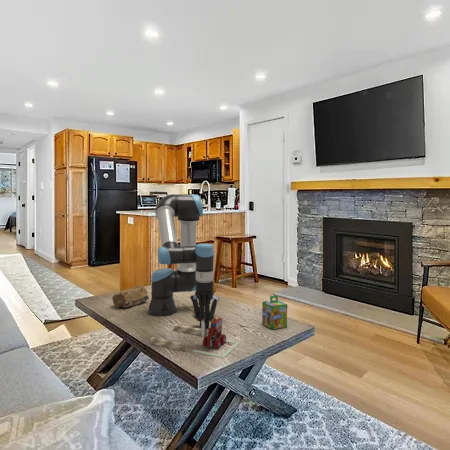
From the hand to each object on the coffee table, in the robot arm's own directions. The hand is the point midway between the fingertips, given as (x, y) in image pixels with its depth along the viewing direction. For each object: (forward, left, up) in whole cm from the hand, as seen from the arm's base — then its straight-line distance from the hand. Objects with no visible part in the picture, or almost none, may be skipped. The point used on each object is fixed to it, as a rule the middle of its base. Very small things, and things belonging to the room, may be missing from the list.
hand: (204, 335), depth 153 cm
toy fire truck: (+4, +2, -4) cm, 6 cm away
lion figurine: (-9, +18, -4) cm, 20 cm away
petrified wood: (-67, +32, -5) cm, 75 cm away
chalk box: (+20, +35, -4) cm, 41 cm away
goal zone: (+5, 0, -4) cm, 6 cm away
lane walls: (-12, 0, -4) cm, 13 cm away
